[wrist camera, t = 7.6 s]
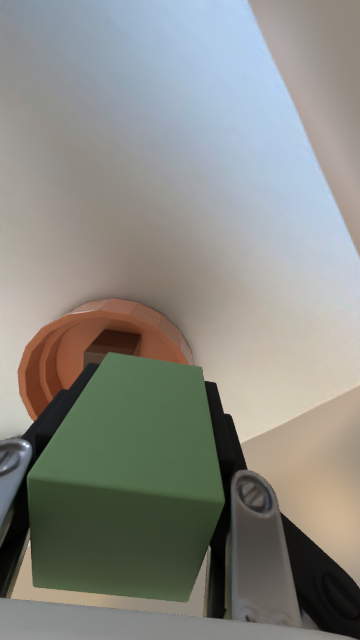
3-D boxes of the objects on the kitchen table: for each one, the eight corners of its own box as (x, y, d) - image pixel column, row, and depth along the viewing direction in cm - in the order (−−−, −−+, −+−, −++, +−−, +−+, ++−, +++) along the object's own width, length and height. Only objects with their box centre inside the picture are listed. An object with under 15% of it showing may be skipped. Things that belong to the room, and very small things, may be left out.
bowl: (45, 285, 24) (11, 296, 19) (206, 311, 24) (212, 327, 20) (49, 416, 29) (23, 450, 24) (180, 434, 30) (180, 469, 25)
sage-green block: (108, 351, 10) (24, 476, 4) (202, 366, 10) (227, 502, 5) (101, 425, 11) (31, 588, 6) (184, 437, 11) (188, 604, 6)
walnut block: (104, 328, 24) (83, 351, 19) (142, 334, 25) (131, 358, 19) (102, 362, 26) (82, 391, 21) (138, 367, 26) (127, 397, 21)
